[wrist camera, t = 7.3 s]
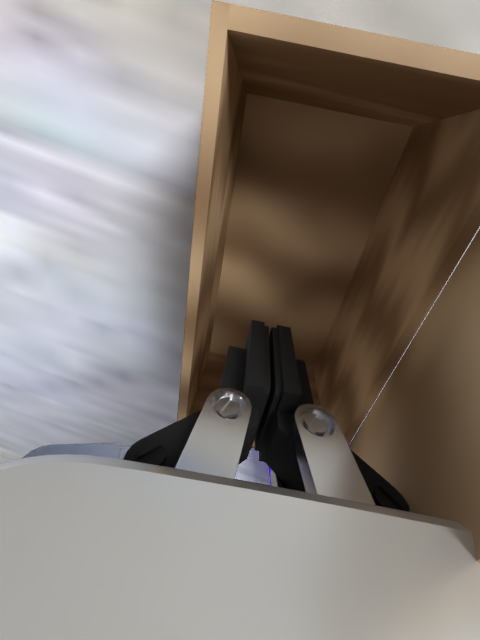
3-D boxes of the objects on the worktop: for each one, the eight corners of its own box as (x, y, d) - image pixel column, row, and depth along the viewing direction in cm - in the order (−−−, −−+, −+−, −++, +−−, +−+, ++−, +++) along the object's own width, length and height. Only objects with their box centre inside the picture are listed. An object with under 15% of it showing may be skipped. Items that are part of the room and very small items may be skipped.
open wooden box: (240, 81, 18) (212, -1, 9) (422, 118, 18) (570, 73, 9) (204, 351, 29) (176, 432, 20) (316, 373, 29) (336, 464, 20)
